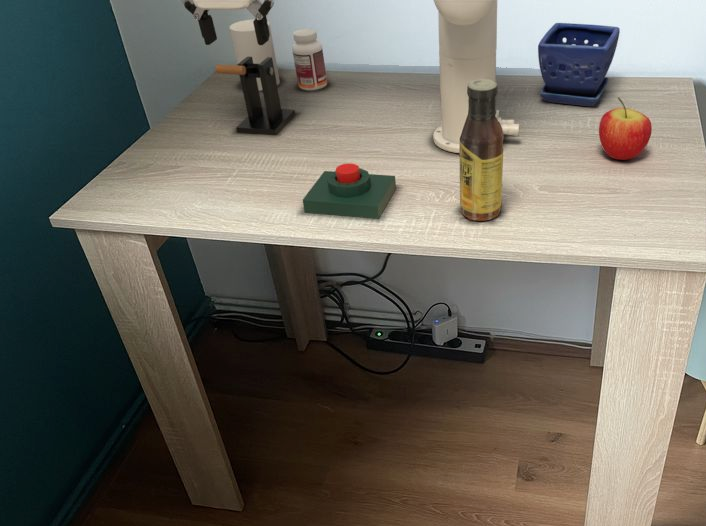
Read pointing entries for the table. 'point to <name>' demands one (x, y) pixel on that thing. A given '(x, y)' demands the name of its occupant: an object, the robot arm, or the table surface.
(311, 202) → the control block
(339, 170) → the button
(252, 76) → the lever
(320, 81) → the pill bottle
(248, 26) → the cup
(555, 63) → the flower pot
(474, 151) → the sauce bottle
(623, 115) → the apple
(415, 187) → the table surface
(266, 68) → the bracket
